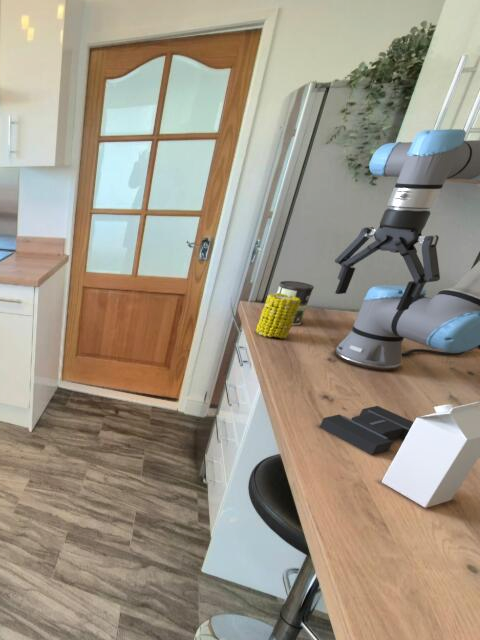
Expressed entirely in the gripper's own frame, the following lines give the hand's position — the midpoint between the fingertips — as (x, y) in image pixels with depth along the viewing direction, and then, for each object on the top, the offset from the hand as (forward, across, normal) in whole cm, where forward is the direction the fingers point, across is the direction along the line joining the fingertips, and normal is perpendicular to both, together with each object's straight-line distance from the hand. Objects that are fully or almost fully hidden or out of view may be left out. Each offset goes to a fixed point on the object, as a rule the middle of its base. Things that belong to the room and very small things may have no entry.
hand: (369, 301), depth 104 cm
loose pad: (+25, +18, -12) cm, 33 cm away
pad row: (+25, +18, -12) cm, 33 cm away
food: (+25, -35, +20) cm, 47 cm away
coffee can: (+25, -44, +37) cm, 63 cm away
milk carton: (+25, +33, -25) cm, 48 cm away
